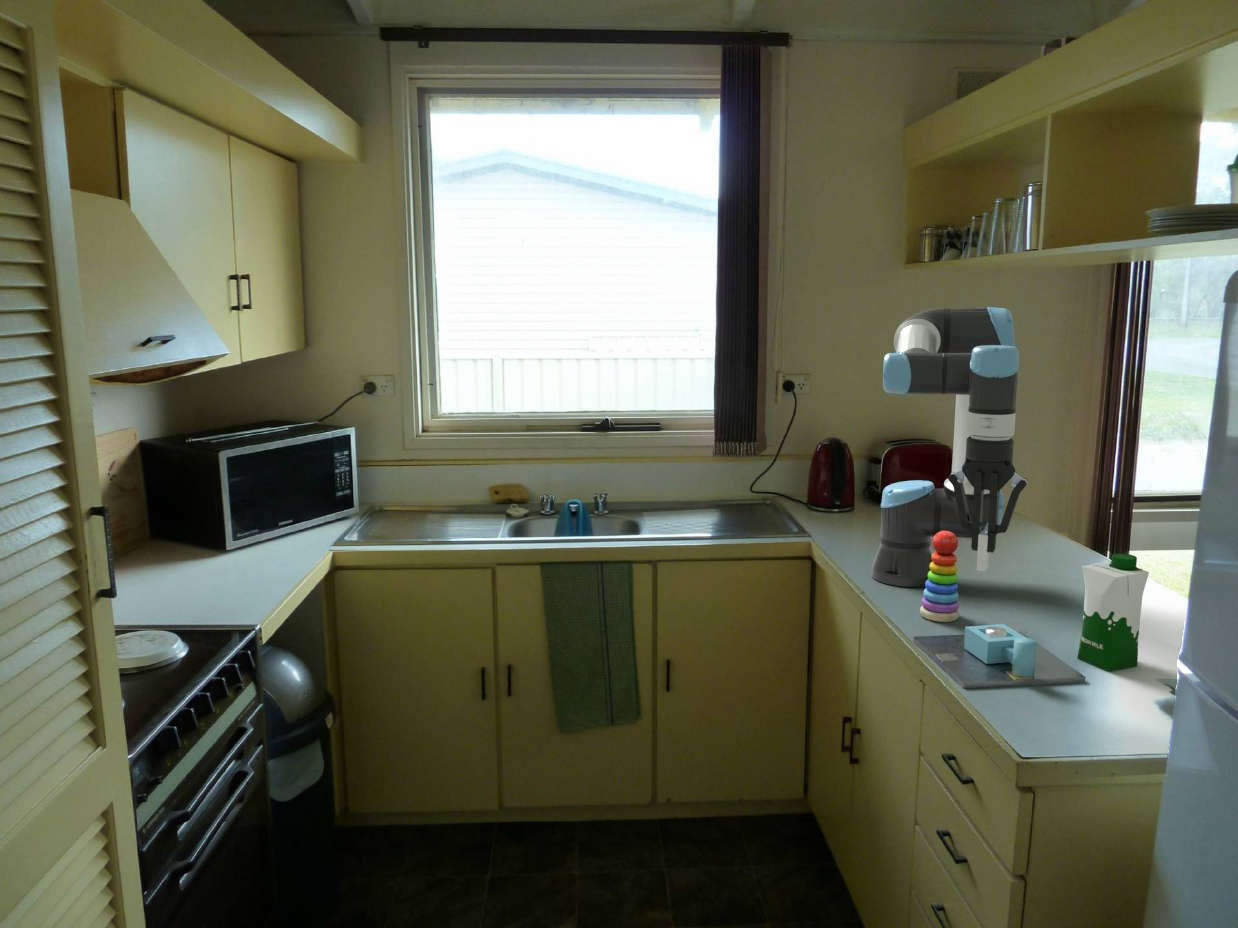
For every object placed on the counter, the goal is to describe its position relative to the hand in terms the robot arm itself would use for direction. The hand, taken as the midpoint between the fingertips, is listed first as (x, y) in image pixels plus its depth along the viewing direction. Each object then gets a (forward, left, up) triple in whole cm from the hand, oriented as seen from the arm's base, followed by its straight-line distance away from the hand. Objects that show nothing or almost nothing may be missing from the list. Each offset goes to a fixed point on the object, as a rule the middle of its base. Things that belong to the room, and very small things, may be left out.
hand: (982, 568), depth 161 cm
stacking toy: (-29, +6, -20) cm, 36 cm away
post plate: (-5, +6, -20) cm, 21 cm away
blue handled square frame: (-2, +6, -18) cm, 19 cm away
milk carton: (-2, +26, -20) cm, 33 cm away
